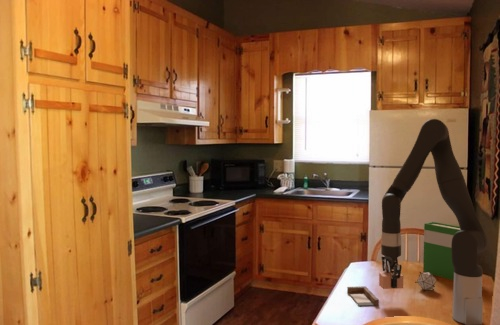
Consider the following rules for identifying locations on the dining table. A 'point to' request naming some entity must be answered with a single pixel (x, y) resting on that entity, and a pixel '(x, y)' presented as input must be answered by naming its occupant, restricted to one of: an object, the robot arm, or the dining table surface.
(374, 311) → the dining table surface
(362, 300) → the tray
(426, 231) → the hardback book
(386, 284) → the block
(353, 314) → the dining table surface
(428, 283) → the game die
